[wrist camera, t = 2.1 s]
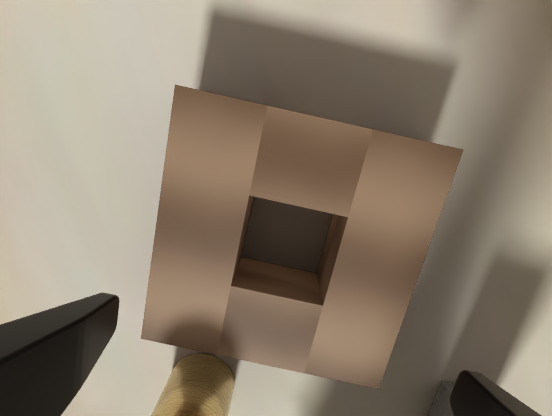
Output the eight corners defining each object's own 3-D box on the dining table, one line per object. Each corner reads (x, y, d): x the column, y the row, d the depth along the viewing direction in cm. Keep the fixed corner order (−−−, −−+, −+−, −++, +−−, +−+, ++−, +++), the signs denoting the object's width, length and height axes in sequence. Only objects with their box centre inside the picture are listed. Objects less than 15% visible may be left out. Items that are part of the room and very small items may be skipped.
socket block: (362, 343, 20) (378, 389, 16) (166, 301, 19) (140, 338, 16) (427, 145, 17) (463, 149, 13) (198, 93, 17) (175, 84, 13)
